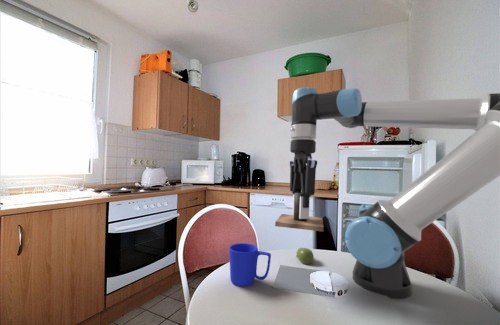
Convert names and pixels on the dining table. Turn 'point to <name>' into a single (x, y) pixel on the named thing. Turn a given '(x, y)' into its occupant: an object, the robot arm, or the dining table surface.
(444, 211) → the robot arm
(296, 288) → the mat
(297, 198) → the lid
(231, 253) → the mug
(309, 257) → the pear
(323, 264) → the dining table surface
